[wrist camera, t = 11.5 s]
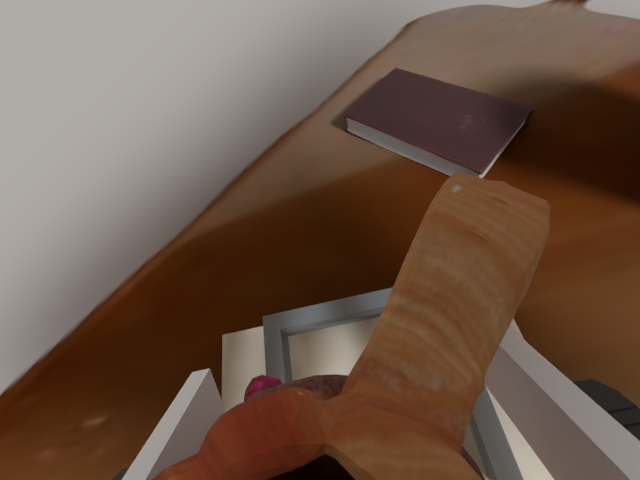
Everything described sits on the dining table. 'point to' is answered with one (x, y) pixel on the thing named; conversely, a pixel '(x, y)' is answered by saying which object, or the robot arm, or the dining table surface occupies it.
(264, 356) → the notched board
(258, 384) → the mug
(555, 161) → the dining table surface
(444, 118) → the book
